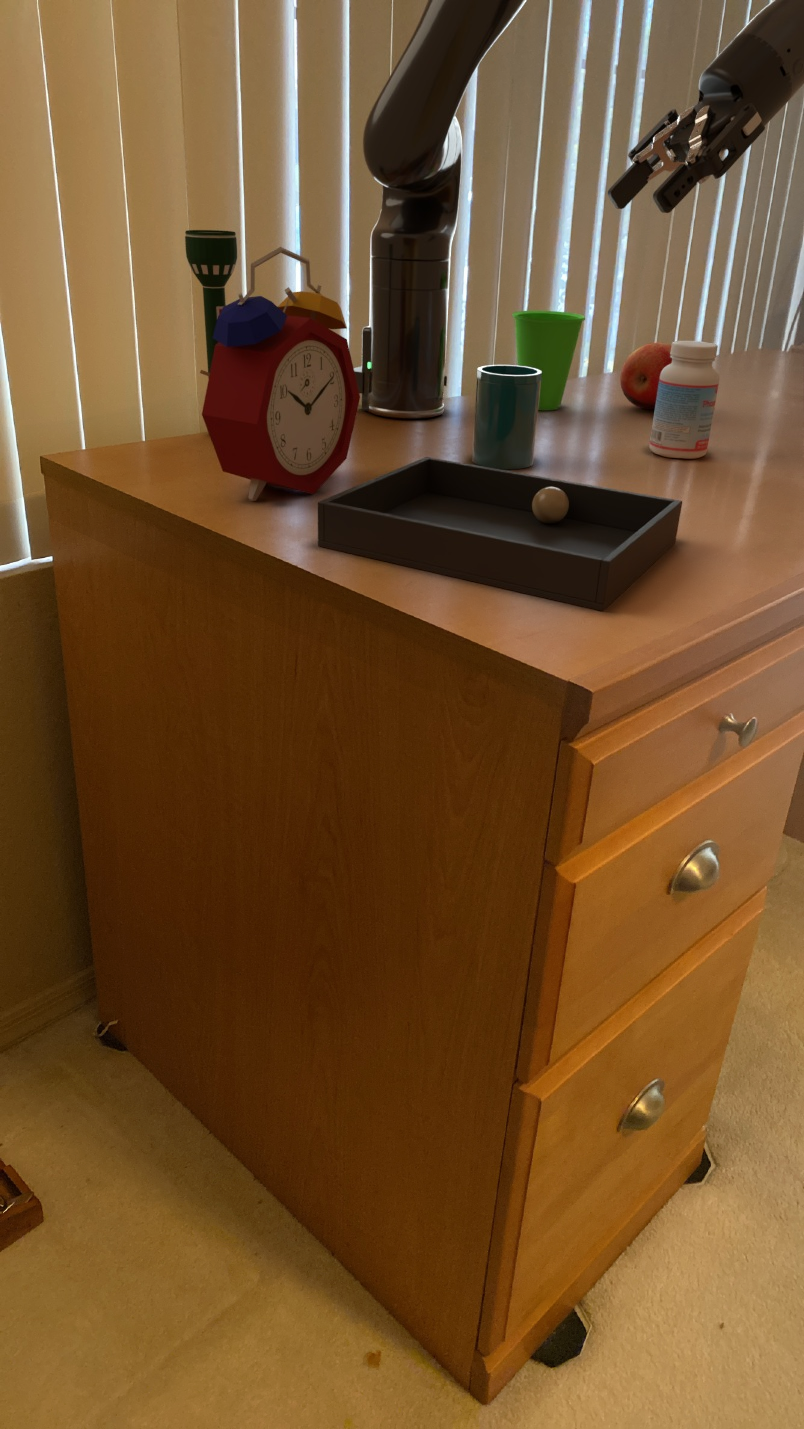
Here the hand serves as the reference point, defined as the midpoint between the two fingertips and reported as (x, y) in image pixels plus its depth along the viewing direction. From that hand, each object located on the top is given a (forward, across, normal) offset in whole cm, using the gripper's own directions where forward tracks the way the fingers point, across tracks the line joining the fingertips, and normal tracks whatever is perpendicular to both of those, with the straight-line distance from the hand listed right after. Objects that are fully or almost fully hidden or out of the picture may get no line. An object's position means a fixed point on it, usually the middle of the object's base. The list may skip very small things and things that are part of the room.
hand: (635, 203), depth 92 cm
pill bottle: (+11, 0, +23) cm, 26 cm away
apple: (+4, -22, +30) cm, 37 cm away
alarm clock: (+42, +4, -8) cm, 44 cm away
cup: (+14, -25, +20) cm, 35 cm away
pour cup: (+25, 0, +9) cm, 26 cm away
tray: (+32, +24, +1) cm, 41 cm away
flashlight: (+44, -17, -9) cm, 48 cm away
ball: (+27, +22, +4) cm, 35 cm away
